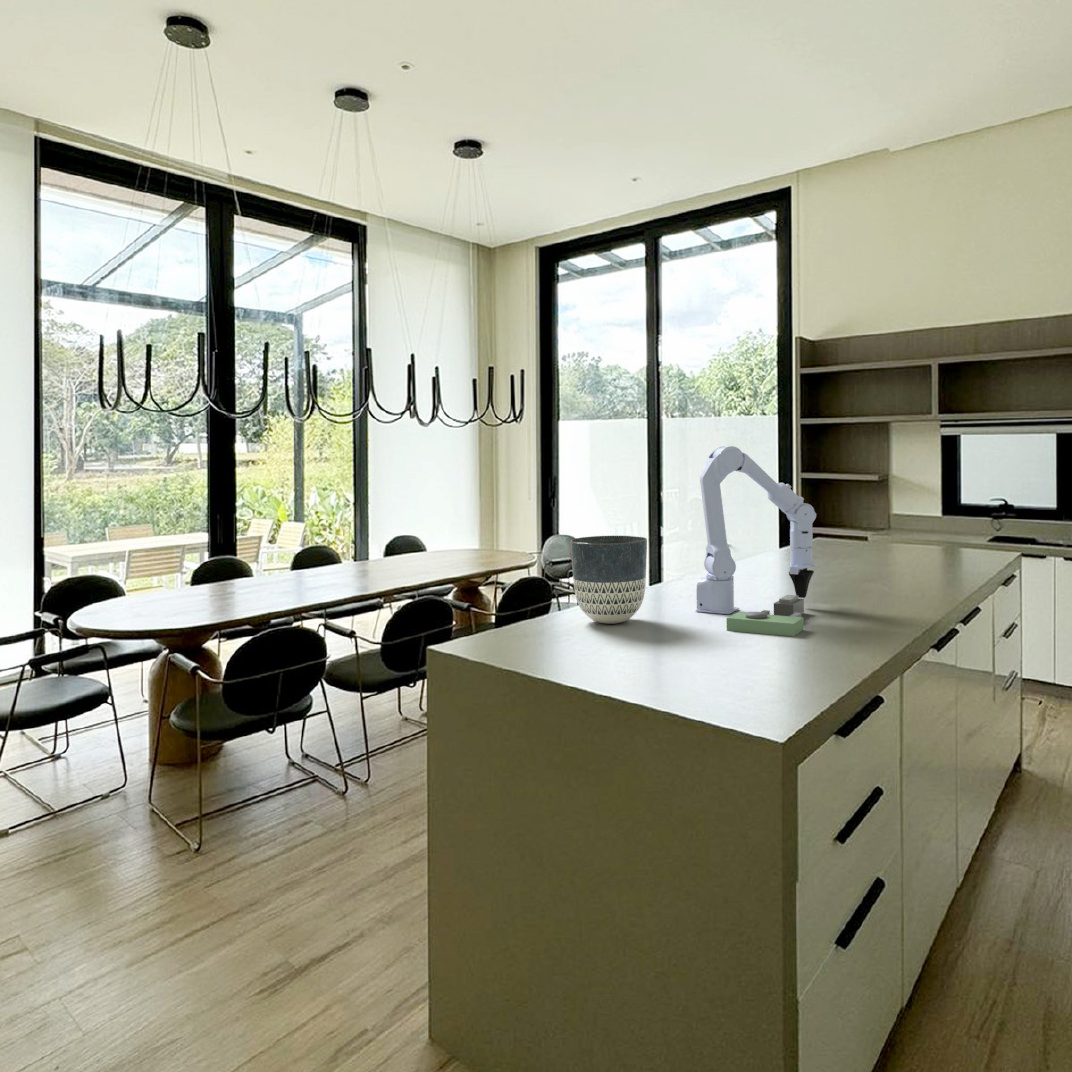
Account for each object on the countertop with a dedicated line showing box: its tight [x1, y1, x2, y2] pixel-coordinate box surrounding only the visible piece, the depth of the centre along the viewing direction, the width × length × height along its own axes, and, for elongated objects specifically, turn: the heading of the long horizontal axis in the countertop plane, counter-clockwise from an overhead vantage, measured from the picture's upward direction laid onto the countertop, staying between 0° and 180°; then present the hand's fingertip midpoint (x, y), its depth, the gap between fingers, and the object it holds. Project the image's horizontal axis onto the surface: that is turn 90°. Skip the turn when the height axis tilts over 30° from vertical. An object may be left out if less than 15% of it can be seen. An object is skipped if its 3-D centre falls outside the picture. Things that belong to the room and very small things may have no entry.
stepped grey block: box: [773, 594, 805, 616], centre depth 214 cm, size 5×9×5 cm, turn 146°
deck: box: [726, 609, 804, 637], centre depth 202 cm, size 16×18×4 cm
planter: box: [569, 535, 648, 625], centre depth 212 cm, size 20×20×21 cm
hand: (801, 597), depth 223 cm, fingers closed
